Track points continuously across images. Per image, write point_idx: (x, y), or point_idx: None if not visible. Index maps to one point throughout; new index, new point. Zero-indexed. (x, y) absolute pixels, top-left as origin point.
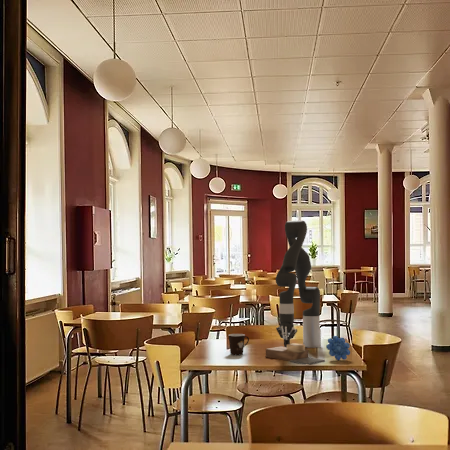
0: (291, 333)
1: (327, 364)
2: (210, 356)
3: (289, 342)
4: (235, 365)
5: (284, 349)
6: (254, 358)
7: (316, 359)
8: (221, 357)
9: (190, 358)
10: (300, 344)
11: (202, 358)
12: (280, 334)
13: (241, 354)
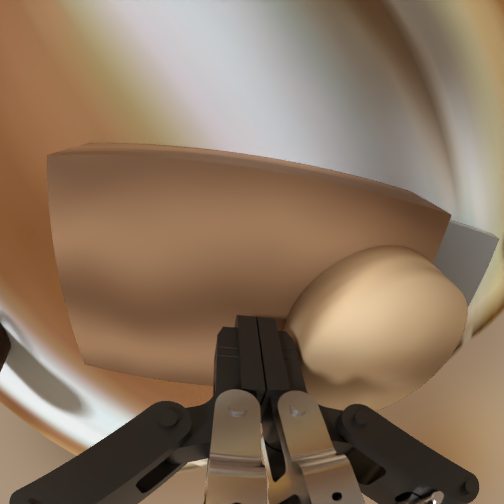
0: (385, 492)
1: (496, 291)
2: (10, 392)
3: (298, 370)
4: (192, 462)
5: (223, 320)
6: (113, 381)
7: (470, 260)
8: (35, 398)
9: (28, 423)
10: (430, 315)
11: (36, 419)
12: (154, 478)
13: (5, 335)
